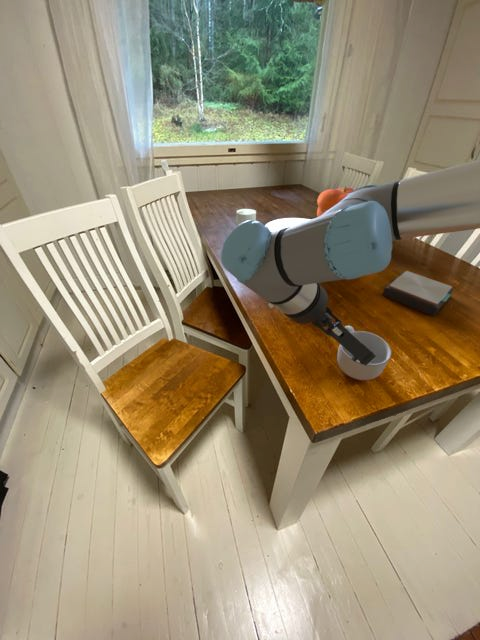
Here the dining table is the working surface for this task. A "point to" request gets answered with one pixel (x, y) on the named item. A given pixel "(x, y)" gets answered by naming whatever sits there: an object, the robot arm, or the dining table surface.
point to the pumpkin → (331, 199)
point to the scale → (418, 292)
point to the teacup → (356, 368)
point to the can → (245, 215)
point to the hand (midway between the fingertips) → (346, 338)
